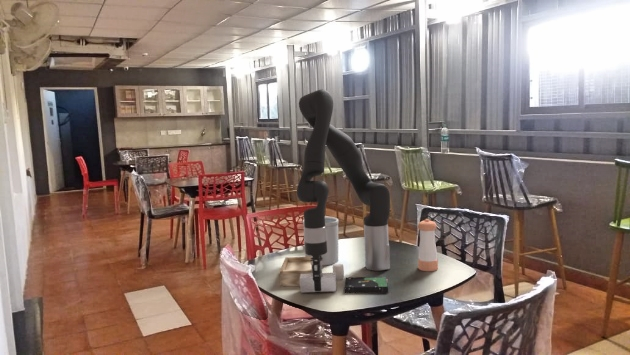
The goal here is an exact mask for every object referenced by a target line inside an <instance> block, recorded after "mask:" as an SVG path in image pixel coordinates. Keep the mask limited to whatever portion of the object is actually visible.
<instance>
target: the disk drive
mask: <svg viewBox="0 0 630 355" xmlns="http://www.w3.org/2000/svg"><path fill="white" fill-rule="evenodd" d="M344 281H345V282H344V288H343V289H344V290H343V291H344V294H388V293H389V292H390V291H389V279H388V277H385V276H384V277H383V276H376V277H375V276H368V277H367V276H366V277H365V276H361V277H359V276H358V277H356V276H355V277H354V276H353V277H351V276H349V277H348V276H347V277H346V278H345V279H344Z"/></svg>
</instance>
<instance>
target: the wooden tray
mask: <svg viewBox="0 0 630 355" xmlns="http://www.w3.org/2000/svg"><path fill="white" fill-rule="evenodd" d="M311 258H313V257H305V256H291V257H290V256H289V257H285V258H284V260H283V262H282V265H281V266H280V269H279V286H280V287H297V286H298V287H300V275H301V274H310V273H312V265H311Z"/></svg>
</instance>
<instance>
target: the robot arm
mask: <svg viewBox="0 0 630 355" xmlns="http://www.w3.org/2000/svg"><path fill="white" fill-rule="evenodd" d="M298 108H299V110H300V113H301V115H302V116H303V118H304V119H305V121H307V123H308V125H310V126H311V127H312V131H311V134H310V136H309V138H308V140H307V143H306V145H305V149H304V154H303V169H302V172H301V176H300V179H299V181H298V185H297V187H296V195H297V198H298V201H300V202H303V203H317V204H316V206H315V207H310V208H307V209H305V210H304V211H303V220H304V225H303V239H304V240H305V245H304V254H305V253H306V254H307V255H311V256H313V258H311V265H312V273H313V281H314V289H315V291H321V273H323V268H324V267H323V265H322V264H323V257H322V255H324V254H326V253H327V236H326V228H325V217H326V216H325V215H326V206H327V201H328V196H329V192H330V189H329V186H328V183H327V182H325V181H324V180H312V179H313V178H314V177H317V176H321V175H322V174H324V172H325V162H326V161H325V160H326V147H327V149H328V150H329V153H331V155H332V157H333V158H334V160H335V161H336V163H337V164H338V166H339V168H340V169H341V170H342V172H343V173H344V174H345V177H347V179H348V180H349V181H350V184H351V185H352V187H353V189H354V191H355V193H356V195H357V196H358V198H359V200H360V202H361V203H363V204H364V205H365V206H369V214H368V215H366V216H364V218H363V231H364V232H363V233H364V256H365V259H364V260H365V262H364V263H365V269H367V270H368V271H369V270H370V271H386V270H390V269H391V261H390V260H391V257H390V243H389V218H390V216H391V215H390V214H391V193H390V190H389V188H388V186H387V185H385V184H383V183H379V182H373V181H372V179H371V178H370V177H369V176H368V174H367V173H366V171H365V170H364V167H363V166H364V165H363V158H362V154H361V151H360V149H359V148H358V147H357V145H356V143H355V142H354V140H353V139H352V138H351V136H349V135H348V134H346V133H345V132H344V131H342V130H340V129H338V128H337V127H335V126H334V125H333V124H331V120H332V116H333V110H334V99H333V96H332V94H331V93H330V92H329V91H328V90H326V89H323V88H321V89H317V90H315V91H312V92H310V93H307V94H305V95H303V96H301V97H300V99H299V101H298ZM304 240H303V241H304ZM315 275H319V277H315Z"/></svg>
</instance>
